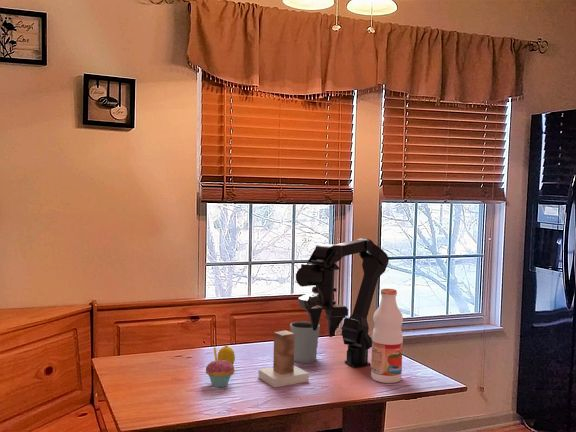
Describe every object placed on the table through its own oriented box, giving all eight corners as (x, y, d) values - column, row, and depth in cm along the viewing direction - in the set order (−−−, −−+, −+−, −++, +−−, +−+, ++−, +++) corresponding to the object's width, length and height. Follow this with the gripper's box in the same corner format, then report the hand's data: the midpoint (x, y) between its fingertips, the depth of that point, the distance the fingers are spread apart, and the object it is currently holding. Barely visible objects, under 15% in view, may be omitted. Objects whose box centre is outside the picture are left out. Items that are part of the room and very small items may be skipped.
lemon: (231, 373, 184) (232, 348, 184) (215, 372, 186) (215, 347, 185) (236, 368, 190) (237, 343, 189) (220, 366, 191) (220, 342, 190)
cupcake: (211, 390, 169) (211, 349, 168) (201, 381, 176) (201, 342, 176) (238, 386, 173) (239, 346, 172) (228, 377, 180) (228, 339, 180)
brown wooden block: (285, 368, 183) (286, 330, 182) (293, 372, 179) (294, 333, 179) (273, 370, 180) (274, 332, 180) (281, 374, 177) (282, 335, 176)
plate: (291, 371, 187) (291, 364, 187) (308, 381, 179) (308, 373, 179) (258, 377, 181) (258, 369, 181) (274, 387, 173) (274, 379, 172)
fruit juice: (377, 371, 189) (379, 286, 187) (405, 377, 184) (408, 289, 183) (366, 380, 181) (368, 290, 179) (395, 385, 176) (398, 293, 175)
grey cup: (283, 358, 201) (284, 324, 200) (302, 352, 209) (303, 319, 208) (306, 365, 194) (307, 329, 194) (324, 358, 202) (325, 324, 201)
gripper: (287, 280, 188) (285, 329, 188) (319, 290, 172) (317, 342, 172) (316, 279, 193) (314, 326, 194) (350, 288, 177) (347, 339, 178)
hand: (322, 333), depth 184 cm, fingers open, 9 cm apart
